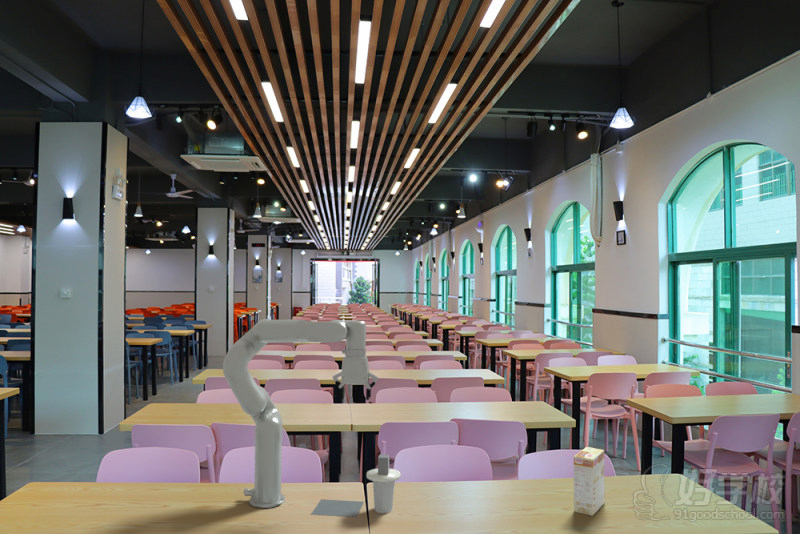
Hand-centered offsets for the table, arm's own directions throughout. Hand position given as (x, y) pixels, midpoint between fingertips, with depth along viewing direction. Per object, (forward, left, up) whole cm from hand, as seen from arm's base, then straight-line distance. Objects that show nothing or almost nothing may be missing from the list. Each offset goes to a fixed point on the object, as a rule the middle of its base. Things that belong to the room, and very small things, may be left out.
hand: (355, 398), depth 216 cm
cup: (+13, -12, -36) cm, 41 cm away
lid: (+13, -12, -24) cm, 30 cm away
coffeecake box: (+86, +2, -36) cm, 93 cm away
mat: (-3, -13, -36) cm, 39 cm away
